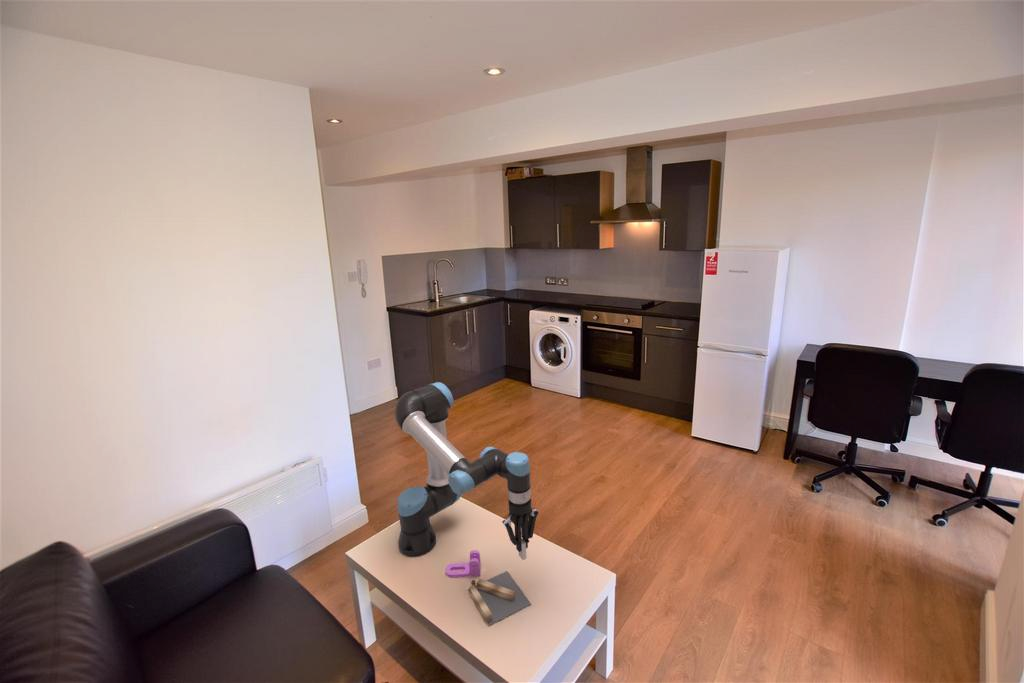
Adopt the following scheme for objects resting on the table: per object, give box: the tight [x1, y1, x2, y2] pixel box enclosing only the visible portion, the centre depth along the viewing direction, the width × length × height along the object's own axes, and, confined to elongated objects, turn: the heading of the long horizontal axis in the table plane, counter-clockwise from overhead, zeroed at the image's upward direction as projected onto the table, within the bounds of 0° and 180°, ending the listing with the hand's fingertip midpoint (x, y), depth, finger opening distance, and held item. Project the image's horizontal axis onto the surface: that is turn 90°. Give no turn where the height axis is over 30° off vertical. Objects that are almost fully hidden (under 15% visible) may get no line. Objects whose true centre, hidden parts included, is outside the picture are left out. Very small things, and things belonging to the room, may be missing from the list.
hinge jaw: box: [476, 578, 515, 601], centre depth 160 cm, size 14×2×2 cm, turn 64°
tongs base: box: [468, 579, 492, 623], centre depth 155 cm, size 16×3×3 cm, turn 29°
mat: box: [467, 570, 532, 627], centre depth 159 cm, size 17×16×1 cm
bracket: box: [445, 549, 482, 579], centre depth 170 cm, size 13×6×7 cm, turn 92°
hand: (522, 556), depth 157 cm, fingers closed
